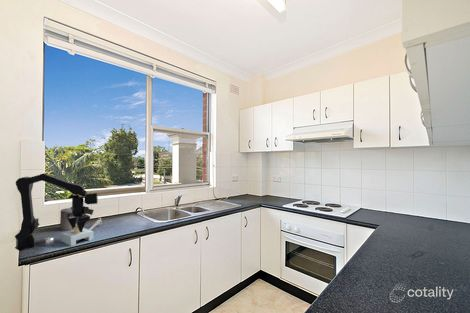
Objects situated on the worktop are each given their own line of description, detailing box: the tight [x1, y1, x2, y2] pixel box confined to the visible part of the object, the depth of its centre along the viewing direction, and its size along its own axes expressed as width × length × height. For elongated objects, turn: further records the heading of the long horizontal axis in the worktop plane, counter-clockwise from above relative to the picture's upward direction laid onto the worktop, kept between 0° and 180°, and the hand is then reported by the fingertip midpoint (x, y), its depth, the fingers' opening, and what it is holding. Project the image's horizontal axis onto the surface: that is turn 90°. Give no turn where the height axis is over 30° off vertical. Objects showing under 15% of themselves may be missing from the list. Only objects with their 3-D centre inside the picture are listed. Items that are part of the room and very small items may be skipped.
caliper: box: [87, 217, 102, 231], centre depth 154 cm, size 20×1×6 cm, turn 7°
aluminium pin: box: [44, 236, 55, 247], centre depth 126 cm, size 4×4×4 cm
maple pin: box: [72, 226, 82, 242], centre depth 133 cm, size 4×4×8 cm
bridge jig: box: [60, 227, 95, 247], centre depth 133 cm, size 12×14×5 cm
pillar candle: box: [59, 207, 77, 232], centre depth 155 cm, size 10×10×15 cm
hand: (77, 230), depth 133 cm, fingers open, 9 cm apart
